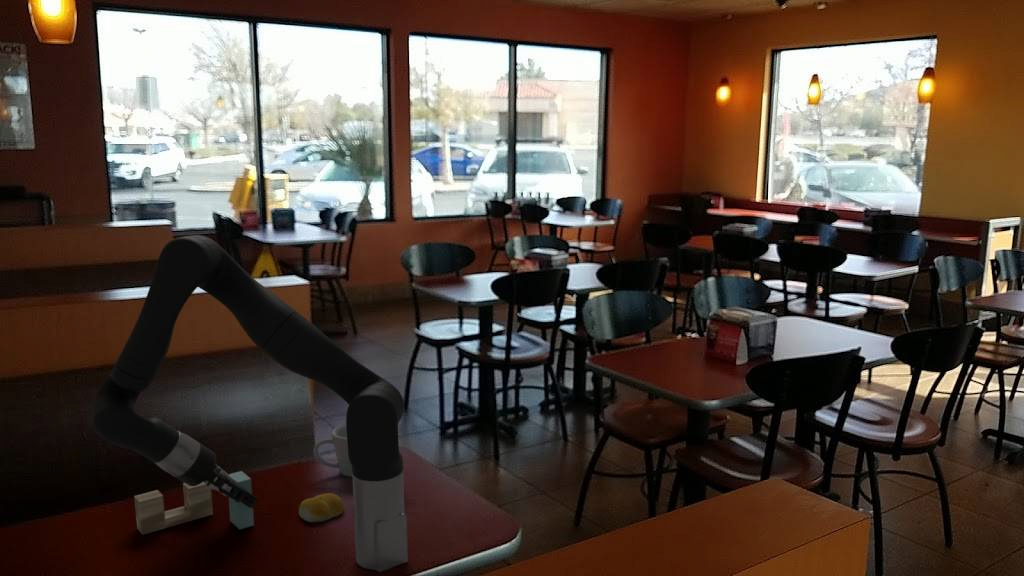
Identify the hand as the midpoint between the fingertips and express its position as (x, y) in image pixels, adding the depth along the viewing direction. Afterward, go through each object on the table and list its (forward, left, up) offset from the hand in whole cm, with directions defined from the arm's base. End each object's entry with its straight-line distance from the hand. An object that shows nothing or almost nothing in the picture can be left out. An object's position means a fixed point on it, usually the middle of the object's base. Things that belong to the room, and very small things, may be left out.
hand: (249, 498), depth 166 cm
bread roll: (-6, -13, -5) cm, 15 cm away
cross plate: (0, +2, -5) cm, 5 cm away
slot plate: (+10, +12, -5) cm, 16 cm away
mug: (+10, -27, -5) cm, 29 cm away
